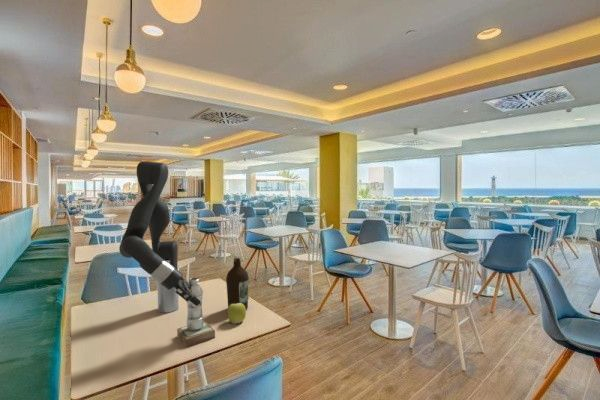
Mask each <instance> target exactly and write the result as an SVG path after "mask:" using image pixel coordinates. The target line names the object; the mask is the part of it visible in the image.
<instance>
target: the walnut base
mask: <svg viewBox="0 0 600 400" xmlns="http://www.w3.org/2000/svg"><path fill="white" fill-rule="evenodd" d="M176 331H177V334H176V335H177V337H178V338H179V340H180V341H181V342H182V343H183V344H184V345H185V347H186V348H188V347H191V346H194V345H197V344H200V343H204V342H206V341H209V340H212V339H214V338H216V329H214V328H213V327H212V326H211V325H210V324H208V323H207V322H206V321H205V320H204V324H203V326H202V328H200V329H198V330H189V329H188V328H187V325H186V326H182V327H179V328H177V329H176Z"/></svg>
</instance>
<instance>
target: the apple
mask: <svg viewBox="0 0 600 400" xmlns="http://www.w3.org/2000/svg"><path fill="white" fill-rule="evenodd" d="M234 302H235V301H234ZM226 313H227V318H228V320H229V322H230V323H232V324H235V325H236V324H237V323H238V324H240V323H242V322H243V321H244V320H245V319H246V315H247V314H246V313H247V310H246V308H245V306H244V305H243V304H242V303H237V304H236V303H235V304H231V305H230V306H229V307H228V306H227V311H226Z"/></svg>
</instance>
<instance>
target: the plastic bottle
mask: <svg viewBox="0 0 600 400" xmlns="http://www.w3.org/2000/svg"><path fill="white" fill-rule="evenodd" d="M188 282H189V285H190V286H189V287H188V288H189V289H190V290H191V293H192V294H193V295H194V296H195V297H196V298H197V299H199V300H200V301H201V303H200V304H199V305H198V306H196V305H194V304H193V303H192V302H190V301H188V302H187V301H186V303H187V304H186V305H187V319H186V326H187V328H188V329H189V330H198V329H200V328H202V326H203V324H204V321H205V320H204V316H203V307H202V306H203V303H202V302H203V295H204V290H203V288H202V287H201V286H200V285H199V284H200V278H199V277H193V278H189V280H188ZM188 296H189V295H187V297H188Z"/></svg>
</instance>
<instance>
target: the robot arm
mask: <svg viewBox="0 0 600 400" xmlns="http://www.w3.org/2000/svg"><path fill="white" fill-rule="evenodd" d="M136 177H137V181H138V186H139V188H140V192H141V194H142V198H141V199H140V200H139V201H138V202H137V203H136V204H135V205H134V206H133V208H132V210H131V213H130V215H129V218H128V223H127V226H126V230H125V232H124V233H123V237H122V239H121V241H120V243H119V249H118V250H119V253H120V254H121V256H123V258H127V259H129V258H132V259H134V260H135V261H136V262H137V263H138V264H139V267H140V268H141V269H142V270H143V271H145V272H146V273H147V274H148V275H150V276H151V277H152V278H153V279H154V280H155V281H156V282H157V283H156V284H157V285H156V286H157V312H159V313H163V314H166V313H167V314H168V313H172V312H175V311H177V310H178V309H180V308H179V297H181V298H182V299H183V300H185V302H186V303H187V302H188V301H190V302H192V303H193V304H194V305H196V306H198V305H199V304H200V303H201V301H200V300H199V299H197V298H196V297H195V296H194V295H193V294H192V293H191V290H190V289H189V288H188V287H189V286H190V285H189V281H187V280H186V279H185V278H184V277H183V272H181V271H180V270H179V269H178V267H179V266H178V255H179V254H178V253H179V252H178V251H179V248H178V243H177V241H174V240H173V241H172V240H169V241H168V240H167V241H166V240H165V241H161V240H160V239H161V236H162V235H163V233H164V231H165V230H166V229H167V228H168V226H169V224H170V221H171V217H170V211H169V206H168V205H167V204H166V201H164V200H163V198H162V197H161V195H162V192H163V190H164V188H165V186H166V184H167V181H168V177H169V168H168V165H167V164H166V163H164V162H158V161H157V162H156V161H149V160H148V161H147V160H146V161H140V162H139V163H138V164H137V166H136ZM147 230H149V233H150V239H151V240H150V242H151V247H150V245H149V244H148V243H147V242H146V241H145V240H144V236H145V233H146V232H147ZM168 261H169V262H168ZM187 295H189V296H188V297H187Z"/></svg>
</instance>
